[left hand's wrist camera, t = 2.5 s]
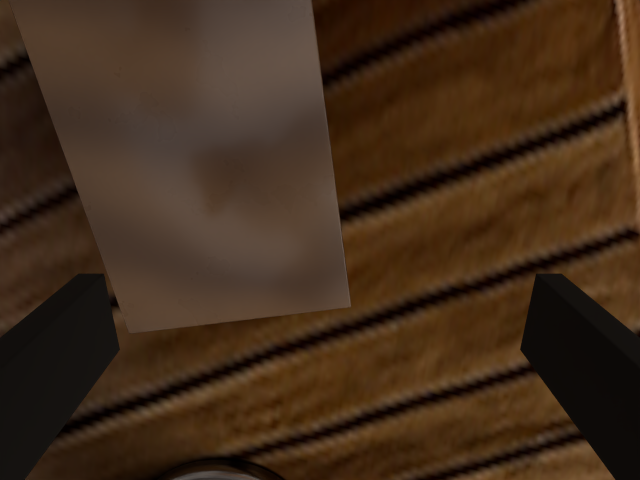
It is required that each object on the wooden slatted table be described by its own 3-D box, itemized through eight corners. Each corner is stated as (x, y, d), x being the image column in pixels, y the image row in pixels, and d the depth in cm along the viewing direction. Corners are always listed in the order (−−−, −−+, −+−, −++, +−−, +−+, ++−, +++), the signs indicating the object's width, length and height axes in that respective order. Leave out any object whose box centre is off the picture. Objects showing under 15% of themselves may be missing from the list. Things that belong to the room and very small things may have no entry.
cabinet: (91, -59, 23) (-43, -138, 14) (299, -95, 22) (286, -199, 14) (183, 261, 29) (129, 334, 21) (342, 240, 29) (351, 307, 21)
